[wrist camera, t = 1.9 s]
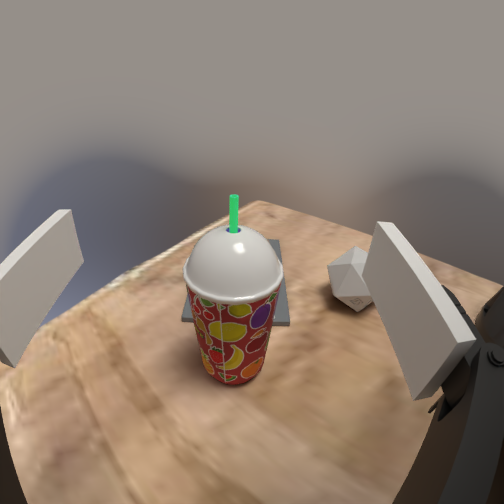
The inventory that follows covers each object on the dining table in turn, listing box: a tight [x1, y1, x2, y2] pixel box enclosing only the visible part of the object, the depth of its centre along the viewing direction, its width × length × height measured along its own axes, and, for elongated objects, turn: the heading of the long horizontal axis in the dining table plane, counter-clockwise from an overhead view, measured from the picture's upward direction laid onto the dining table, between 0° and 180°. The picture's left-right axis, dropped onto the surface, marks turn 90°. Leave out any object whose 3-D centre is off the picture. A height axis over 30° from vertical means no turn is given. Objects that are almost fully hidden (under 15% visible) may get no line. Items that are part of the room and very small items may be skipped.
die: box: [327, 246, 373, 312], centre depth 40 cm, size 8×9×10 cm
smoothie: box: [183, 195, 284, 385], centre depth 26 cm, size 8×8×20 cm
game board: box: [182, 239, 290, 326], centre depth 46 cm, size 14×21×1 cm, turn 0°
